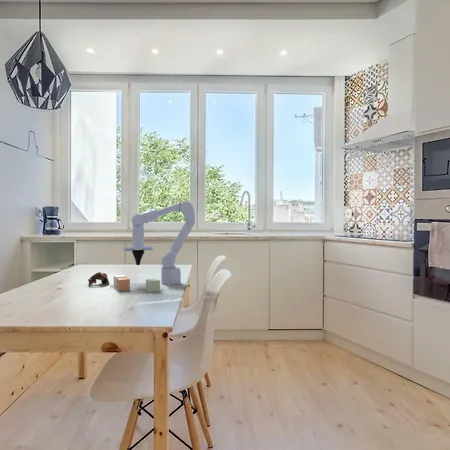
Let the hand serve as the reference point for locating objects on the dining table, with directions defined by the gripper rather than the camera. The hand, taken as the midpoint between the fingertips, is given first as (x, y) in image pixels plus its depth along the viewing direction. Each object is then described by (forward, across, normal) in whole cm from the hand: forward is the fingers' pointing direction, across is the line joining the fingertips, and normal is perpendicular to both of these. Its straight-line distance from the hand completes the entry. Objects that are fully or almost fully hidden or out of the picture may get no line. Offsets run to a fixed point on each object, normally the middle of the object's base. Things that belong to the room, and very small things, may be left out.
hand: (138, 264), depth 191 cm
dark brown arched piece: (+11, -17, +6) cm, 21 cm away
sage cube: (+9, +1, -22) cm, 24 cm away
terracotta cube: (+9, -10, -13) cm, 19 cm away
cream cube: (+9, -10, -4) cm, 14 cm away
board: (+10, -4, -13) cm, 17 cm away
